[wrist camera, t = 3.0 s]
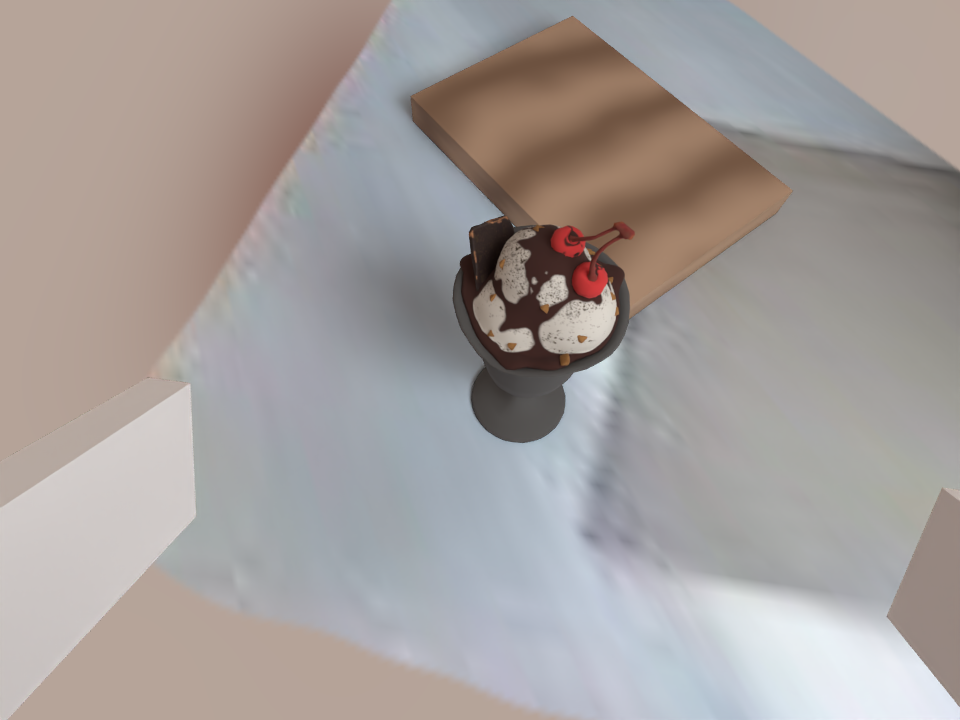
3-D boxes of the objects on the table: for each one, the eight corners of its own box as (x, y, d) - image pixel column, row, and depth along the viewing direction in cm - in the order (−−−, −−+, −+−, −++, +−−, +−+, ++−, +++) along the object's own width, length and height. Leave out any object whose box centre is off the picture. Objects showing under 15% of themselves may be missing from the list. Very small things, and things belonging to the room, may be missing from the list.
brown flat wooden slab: (776, 212, 37) (792, 190, 35) (615, 328, 33) (624, 310, 31) (568, 41, 44) (572, 15, 42) (412, 121, 40) (410, 96, 38)
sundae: (600, 441, 30) (712, 275, 17) (473, 473, 29) (482, 325, 16) (560, 331, 33) (628, 113, 19) (443, 357, 32) (429, 147, 18)
